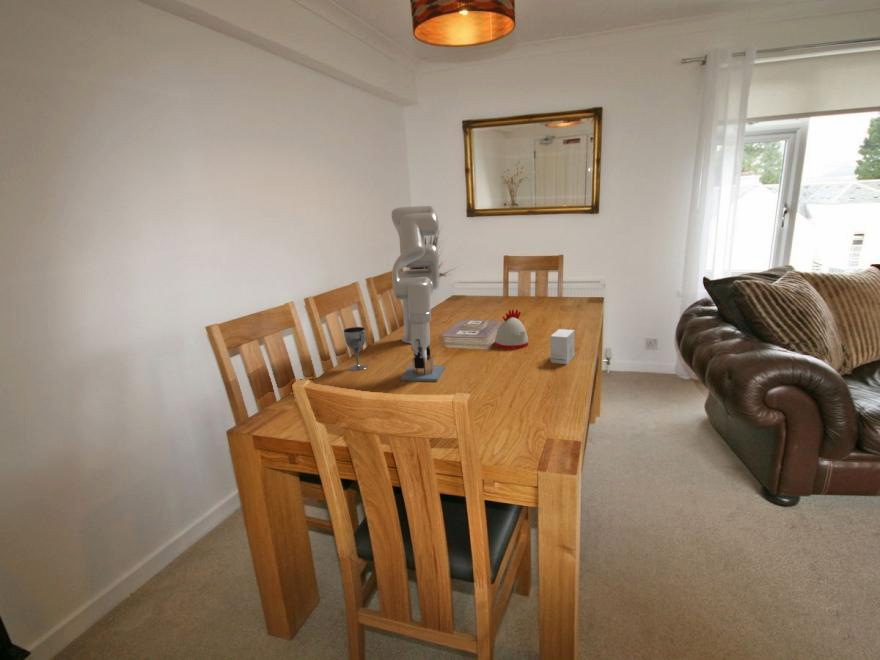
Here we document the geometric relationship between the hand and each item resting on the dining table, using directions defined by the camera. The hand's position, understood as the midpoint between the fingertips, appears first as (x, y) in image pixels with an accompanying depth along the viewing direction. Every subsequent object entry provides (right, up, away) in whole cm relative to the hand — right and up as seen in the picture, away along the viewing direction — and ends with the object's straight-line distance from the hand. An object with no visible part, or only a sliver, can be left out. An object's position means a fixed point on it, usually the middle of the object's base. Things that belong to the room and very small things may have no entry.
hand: (422, 363), depth 165 cm
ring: (0, -3, +1) cm, 3 cm away
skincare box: (+52, +1, +9) cm, 53 cm away
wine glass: (-25, -3, +11) cm, 28 cm away
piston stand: (0, -4, +1) cm, 4 cm away
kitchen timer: (+36, +6, +31) cm, 48 cm away
